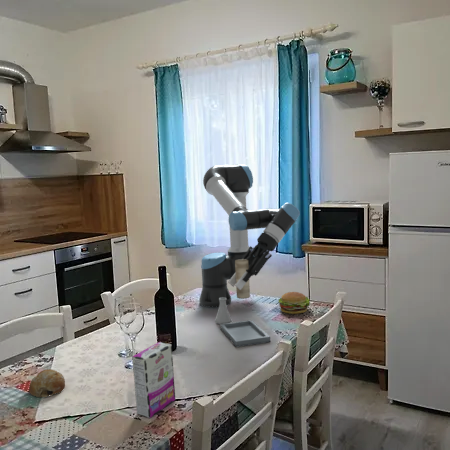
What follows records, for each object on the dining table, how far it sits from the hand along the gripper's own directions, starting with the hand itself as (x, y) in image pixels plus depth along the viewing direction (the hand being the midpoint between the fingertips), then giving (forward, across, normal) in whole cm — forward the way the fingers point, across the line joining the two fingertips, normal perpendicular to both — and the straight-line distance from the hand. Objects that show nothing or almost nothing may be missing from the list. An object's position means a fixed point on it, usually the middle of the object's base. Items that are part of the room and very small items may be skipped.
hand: (234, 285), depth 175 cm
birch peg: (+1, 0, -6) cm, 6 cm away
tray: (+11, 0, -17) cm, 20 cm away
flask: (+11, +18, -17) cm, 27 cm away
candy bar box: (+45, -34, +16) cm, 59 cm away
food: (-12, +15, -40) cm, 44 cm away
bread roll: (+63, -8, +34) cm, 72 cm away
